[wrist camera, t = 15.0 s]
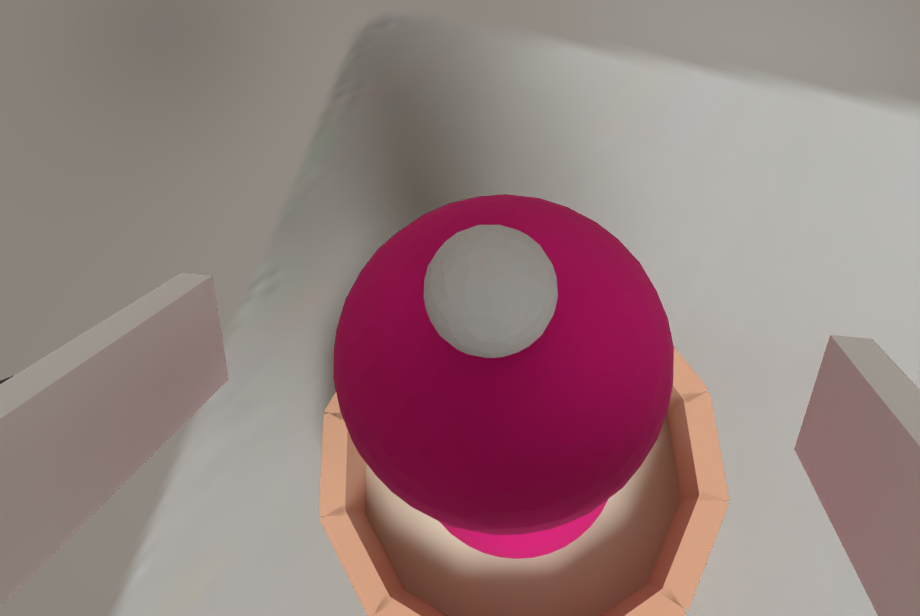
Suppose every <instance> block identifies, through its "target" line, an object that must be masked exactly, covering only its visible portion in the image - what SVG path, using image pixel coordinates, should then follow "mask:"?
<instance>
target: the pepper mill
mask: <svg viewBox="0 0 920 616" xmlns="http://www.w3.org/2000/svg"><path fill="white" fill-rule="evenodd" d="M673 367H674V347H673V342H672V337H671V332H670V327H669V322H668V318H667V315H666V313H665V311H664V308H663V306H662V303H661V301H660V298H659V296H658V294H657V291H656V289H655V288H654V286H653V284H652V283H651V281H650V279H649V278H648V276H647V274H646V273H645V271H644V269H643V267H642V266H641V264H640V262H639V261H638V260H637V259H636V258H635V257H634V256H633V255H632V254H631V253H630V252H629V251H628V249H627V248H626V247H625V246H624V245H623V244H622V243H621V242H620V241H619V240H618V239H617V238H616V237H614V236H613V235H612V234H611V233H609V232H608V231H607V230H605V229H604V228H603V227H602V226H600V225H599V224H598V223H596V222H595V221H593V220H591V219H589V218H587V217H585V216H583V215H581V214H579V213H577V212H575V211H574V210H572V209H570V208H568V207H565V206H562V205H559V204H555V203H552V202H549V201H546V200H543V199H540V198H533V197H524V196H515V195H506V194H505V195H493V196H481V197H475V198H470V199H466V200H462V201H458V202H453V203H449V204H447V205H445V206H442V207H440V208H438V209H435V210H433V211H431V212H429V213H426V214H424V215H423V216H421V217H420V218H418V219H417V220H415V221H414V222H412V223H411V224H409V225H408V226H406V227H405V228H403V229H402V230H400V231H399V232H397V233H396V234H395V235H394V236H393V237H392V238H390V239H389V240H388V241H387V242H386V243H385V244H384V245H382V246H381V247H380V248H379V249H378V250H377V251H376V253H375V254H374V255H373V256H372V258H371V259H370V260H369V262H368V263H367V264H366V266H365V267H364V268H363V269H362V271H361V272H360V274H359V276H358V278H357V280H356V281H355V283H354V285H353V287H352V289H351V291H350V292H349V294H348V296H347V298H346V300H345V303H344V306H343V310H342V313H341V316H340V320H339V323H338V327H337V331H336V338H335V346H334V383H335V388H336V393H337V398H338V403H339V407H340V412H341V414H342V417H343V419H344V422H345V424H346V427H347V429H348V432H349V434H350V437H351V439H352V441H353V443H354V445H355V447H356V449H357V451H358V453H359V454H360V456H361V457H362V458H363V460H364V461H365V462H366V463H367V465H368V466H369V467H370V469H371V470H372V471H373V472H374V474H375V475H376V476H377V477H378V478H379V479H380V480H381V481H382V482H383V483H384V484H385V485H386V486H387V487H388V488H389V490H390V491H391V492H393V493H394V494H395V495H397V496H398V497H399V498H400V499H402V500H403V501H404V502H406V503H407V504H408V505H410V506H411V507H413V508H414V509H416V510H418V511H420V512H422V513H424V514H426V515H428V516H430V517H432V518H434V519H436V520H437V521H439V522H440V523H441V524H442V525H443V526H444V527H445V528H446V529H447V530H448V531H449V533H450V534H452V535H453V536H454V537H456V538H457V539H459V540H460V541H462V542H463V543H465V544H466V545H468V546H469V547H471V548H474V549H476V550H478V551H480V552H482V553H485V554H489V555H493V556H497V557H502V558H512V559H522V558H534V557H538V556H542V555H547V554H550V553H552V552H555V551H557V550H559V549H562V548H564V547H565V546H567V545H569V544H570V543H572V542H573V541H575V540H576V539H578V538H579V537H580V536H581V535H582V534H583V533H584V532H586V531H587V530H588V529H589V528H590V527H591V526H592V524H593V523H594V522H595V520H596V519H597V518H598V516H599V515H600V514H601V512H602V510H603V509H604V507H605V505H606V503H607V501H608V499H609V498H610V497H612V496H613V495H614V494H615V493H617V492H618V491H619V490H621V489H622V488H623V487H624V486H625V485H626V483H627V482H628V481H629V480H630V478H631V477H632V476H633V475H634V474H635V472H636V471H637V470H638V469H639V468H640V466H641V465H642V463H643V462H644V460H645V459H646V457H647V455H648V454H649V452H650V450H651V449H652V447H653V446H654V444H655V442H656V441H657V439H658V436H659V434H660V431H661V428H662V426H663V423H664V421H665V418H666V415H667V413H668V409H669V403H670V398H671V392H672V387H673Z"/></svg>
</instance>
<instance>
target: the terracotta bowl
mask: <svg viewBox="0 0 920 616" xmlns="http://www.w3.org/2000/svg"><path fill="white" fill-rule="evenodd" d="M673 347H674V346H673ZM707 390H708V388H707V387H706V386H705V384H704V383H703V382H702V381H701V380H700V378H699V377H698V376H697V375H696V373H695V372H694V371H693V370H692V368H691V367H690V366H689V365H688V364H687V362H686V361H685V360H684V359H683V357H682V356H681V355H680V354H679V353H678V351H677V350H676V349H675V348H674V367H673V387H672V392H671V398H670V403H669V409H668V413H667V415H666V418H665V421H664V423H663V426H662V428H661V431H660V434H659V436H658V439H657V441H656V442H655V444H654V446H653V447H652V449H651V450H650V452H649V454H648V455H647V457H646V459H645V460H644V462H643V463H642V465H641V466H640V468H639V469H638V470H637V471H636V472H635V474H634V475H633V476H632V477H631V478H630V480H629V481H628V482H627V483H626V485H625V486H624V487H623V488H622V489H621V490H619V491H618V492H617V493H615V494H614V495H613V496H612V497H610V498H609V499H608V501H607V503H606V505H605V507H604V509H603V510H602V512H601V514H600V515H599V516H598V518H597V519H596V520H595V522H594V523H593V524H592V526H591V527H590V528H589V529H588V530H587V531H586V532H584V533H583V534H582V535H581V536H580V537H579V538H578V539H576V540H575V541H573V542H572V543H570V544H569V545H567V546H565V547H564V548H562V549H559V550H557V551H555V552H552V553H550V554H547V555H542V556H538V557H534V558H522V559H512V558H502V557H497V556H493V555H489V554H485V553H482V552H480V551H478V550H476V549H474V548H471V547H469V546H468V545H466V544H465V543H463V542H462V541H460V540H459V539H457V538H456V537H454V536H453V535H452V534H450V533H449V531H448V530H447V529H446V528H445V527H444V526H443V525H442V524H441V523H440V522H439V521H437V520H436V519H434V518H432V517H430V516H428V515H426V514H424V513H422V512H420V511H418V510H416V509H414V508H413V507H411V506H410V505H408V504H407V503H406V502H404V501H403V500H402V499H400V498H399V497H398V496H397V495H395V494H394V493H393V492H391V491H390V490H389V488H388V487H387V486H386V485H385V484H384V483H383V482H382V481H381V480H380V479H379V478H378V477H377V476H376V475H375V474H374V472H373V471H372V470H371V469H370V467H369V466H368V465H367V463H366V462H365V461H364V460H363V458H362V457H361V456H360V454H359V453H358V451H357V449H356V447H355V445H354V443H353V441H352V439H351V437H350V434H349V432H348V429H347V427H346V424H345V422H344V419H343V417H342V414H341V412H340V407H339V403H338V398H337V393H336V392H335V394H334V396H333V397H332V399H331V401H330V402H329V404H328V406H327V407H326V409H325V411H326V412H327V413H326V414H324V416H323V438H322V460H321V482H320V504H319V517H323V518H321V519H320V521H321V523H322V525H323V527H324V530H325V532H326V534H327V536H328V538H329V540H330V542H331V544H332V546H333V548H334V550H335V552H336V554H337V556H338V558H339V560H340V562H341V564H342V566H343V568H344V570H345V572H346V574H347V576H348V578H349V580H350V582H351V584H352V586H353V588H354V590H355V592H356V594H357V596H358V598H359V600H360V602H361V604H362V606H363V608H364V610H365V612H366V614H367V616H683V615H684V614H686V612H685V610H684V609H683V608H685V609H687V610H689V607H690V605H691V602H692V600H693V597H694V594H695V592H696V589H697V586H698V584H699V581H700V578H701V576H702V573H703V571H704V568H705V565H706V563H707V560H708V557H709V555H710V552H711V549H712V547H713V544H714V542H715V539H716V536H717V534H718V531H719V528H720V526H721V523H722V521H723V518H724V515H725V513H726V510H727V507H728V505H729V503H727V502H725V501H727V500H729V495H728V490H727V484H726V479H725V473H724V468H723V462H722V457H721V451H720V446H719V440H718V435H717V429H716V424H715V418H714V413H713V407H712V402H711V396H710V392H706V391H707Z"/></svg>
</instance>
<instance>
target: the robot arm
mask: <svg viewBox="0 0 920 616" xmlns="http://www.w3.org/2000/svg"><path fill="white" fill-rule="evenodd" d="M227 380H228V373H227V366H226V360H225V354H224V348H223V341H222V335H221V329H220V322H219V316H218V310H217V303H216V297H215V291H214V284H213V279H212V276H211V275H201V274H191V273H180V274H178V275H177V276H175V277H174V278H172V279H170V280H169V281H167V282H165V283H164V284H162V285H160V286H159V287H157V288H156V289H154V290H152V291H151V292H149V293H147V294H146V295H144V296H143V297H141V298H140V299H138V300H136V301H134V302H133V303H131V304H130V305H128V306H126V307H125V308H123V309H121V310H120V311H118V312H117V313H115V314H114V315H112V316H110V317H109V318H107V319H105V320H104V321H102V322H100V323H99V324H97V325H96V326H94V327H92V328H91V329H89V330H87V331H86V332H84V333H83V334H81V335H79V336H78V337H76V338H74V339H73V340H71V341H70V342H68V343H66V344H65V345H63V346H62V347H60V348H58V349H57V350H55V351H53V352H52V353H50V354H49V355H47V356H45V357H44V358H42V359H40V360H39V361H37V362H35V363H34V364H32V365H31V366H29V367H27V368H26V369H24V370H22V371H21V372H19V373H18V374H16V375H14V376H12V377H9V378H6V379H4V380H1V381H0V607H1V606H2V605H3V603H5V602H6V601H7V600H8V599H9V598H10V597H11V596H12V595H13V594H14V593H15V592H16V591H17V590H18V589H19V588H20V587H21V586H22V585H23V584H24V583H25V582H26V581H27V580H28V579H29V578H30V577H31V576H32V575H33V574H34V573H35V572H36V571H37V570H38V569H39V568H40V567H41V566H42V565H43V564H44V563H45V562H46V561H47V560H48V559H49V558H50V557H51V556H52V555H53V554H54V553H55V552H56V551H57V550H58V549H59V548H60V547H61V546H62V545H63V544H64V543H65V542H66V541H67V540H68V539H69V538H70V537H71V536H72V535H73V534H74V533H75V532H76V531H77V530H78V529H79V528H80V527H81V526H82V525H83V524H84V523H85V522H86V521H87V520H88V519H89V518H90V517H91V516H92V515H93V514H94V513H95V512H96V511H97V510H98V509H99V508H100V507H101V506H102V505H103V504H104V503H105V502H106V501H107V500H108V499H109V498H110V497H111V496H112V495H113V494H114V493H115V492H116V491H117V490H118V489H119V488H120V487H121V486H122V485H123V484H124V483H125V482H126V481H127V480H128V479H129V478H130V477H131V476H132V475H133V474H134V473H135V472H136V471H137V470H138V469H139V468H140V467H141V466H142V465H143V464H144V463H145V462H146V461H147V460H148V459H149V458H150V457H151V456H152V455H153V454H154V453H155V452H156V451H157V450H158V449H159V448H160V447H161V446H162V445H163V444H164V443H165V442H166V441H167V440H168V439H169V438H170V437H171V436H172V435H173V434H174V433H175V432H176V431H177V430H178V429H179V428H180V427H181V426H182V425H183V424H184V423H185V422H186V421H187V420H188V419H189V418H190V417H191V416H192V415H193V414H194V413H195V412H196V411H197V410H198V409H199V408H200V407H201V406H202V405H203V404H204V403H205V402H206V401H207V400H208V399H209V398H210V397H211V396H212V395H213V394H214V393H215V392H216V391H217V390H218V389H219V388H220V387H221V386H222V385H223V384H224V383H225V382H226V381H227ZM795 451H796V453H797V455H798V457H799V459H800V461H801V463H802V465H803V467H804V469H805V471H806V473H807V475H808V477H809V479H810V481H811V483H812V485H813V487H814V489H815V491H816V493H817V495H818V497H819V499H820V501H821V503H822V505H823V507H824V509H825V511H826V513H827V515H828V517H829V519H830V521H831V523H832V525H833V527H834V529H835V531H836V533H837V535H838V537H839V539H840V541H841V543H842V545H843V547H844V549H845V551H846V553H847V555H848V557H849V559H850V561H851V563H852V565H853V567H854V569H855V571H856V573H857V575H858V577H859V579H860V581H861V583H862V585H863V587H864V589H865V591H866V593H867V595H868V597H869V599H870V601H871V603H872V605H873V607H874V609H875V611H876V613H877V615H878V616H920V389H919V388H918V387H917V386H916V385H915V384H914V383H913V382H912V381H911V380H910V379H909V378H908V377H907V375H906V374H905V373H904V372H903V371H902V370H901V369H900V368H899V367H898V366H897V365H896V364H895V363H894V361H893V360H892V359H891V358H890V357H889V356H888V355H887V354H886V353H885V352H884V351H883V350H882V349H881V347H880V346H879V345H878V344H877V343H876V342H875V341H874V340H873V339H866V338H856V337H845V336H835V335H830V338H829V341H828V344H827V347H826V350H825V354H824V357H823V360H822V363H821V366H820V369H819V373H818V376H817V379H816V382H815V385H814V388H813V392H812V395H811V398H810V401H809V404H808V407H807V411H806V414H805V417H804V420H803V423H802V426H801V430H800V433H799V436H798V439H797V442H796V446H795Z"/></svg>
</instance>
